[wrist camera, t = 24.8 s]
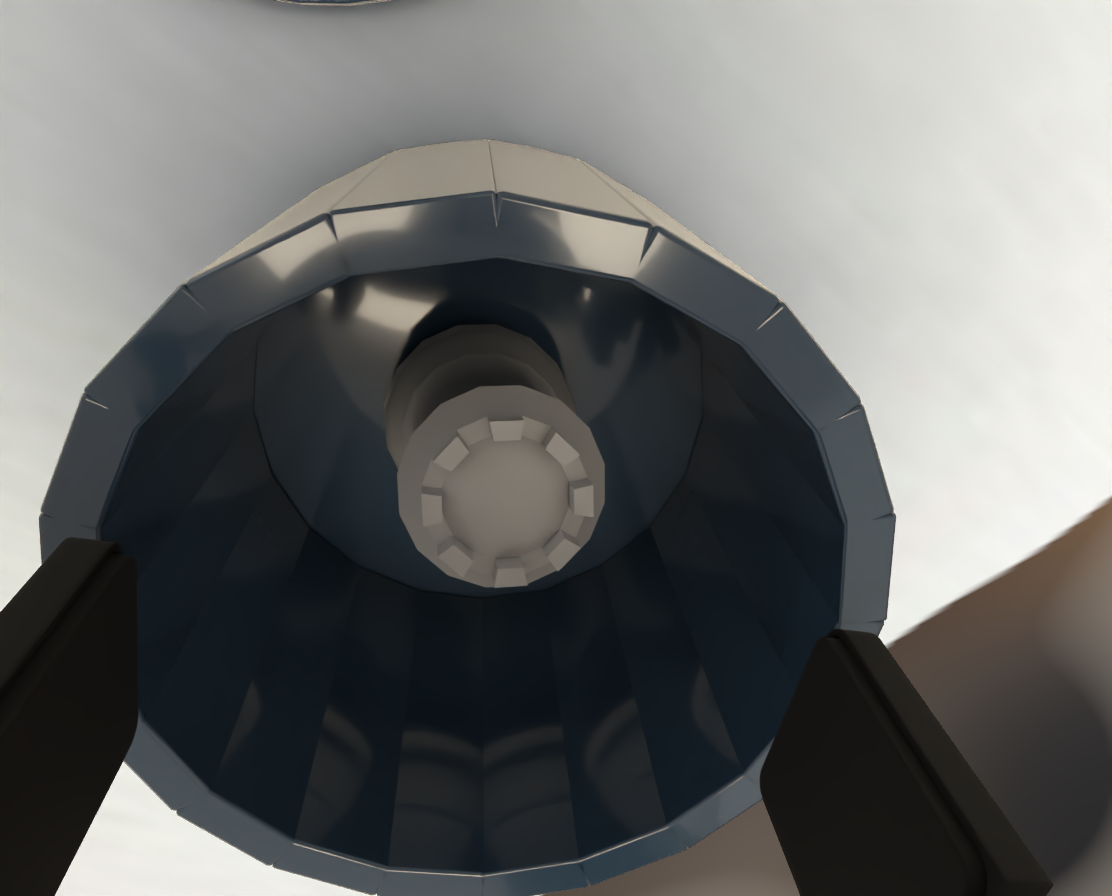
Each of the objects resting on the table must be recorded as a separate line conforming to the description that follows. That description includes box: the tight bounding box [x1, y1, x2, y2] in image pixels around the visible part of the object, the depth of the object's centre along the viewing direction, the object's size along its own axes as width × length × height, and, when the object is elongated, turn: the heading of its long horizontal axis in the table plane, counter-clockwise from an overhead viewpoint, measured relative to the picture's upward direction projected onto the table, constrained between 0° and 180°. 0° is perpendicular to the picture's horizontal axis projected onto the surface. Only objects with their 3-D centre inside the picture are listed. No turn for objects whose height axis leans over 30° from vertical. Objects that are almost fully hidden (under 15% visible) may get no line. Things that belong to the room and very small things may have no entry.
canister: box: [39, 139, 896, 896], centre depth 16 cm, size 13×13×9 cm
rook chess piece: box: [384, 324, 605, 588], centre depth 15 cm, size 4×4×8 cm
